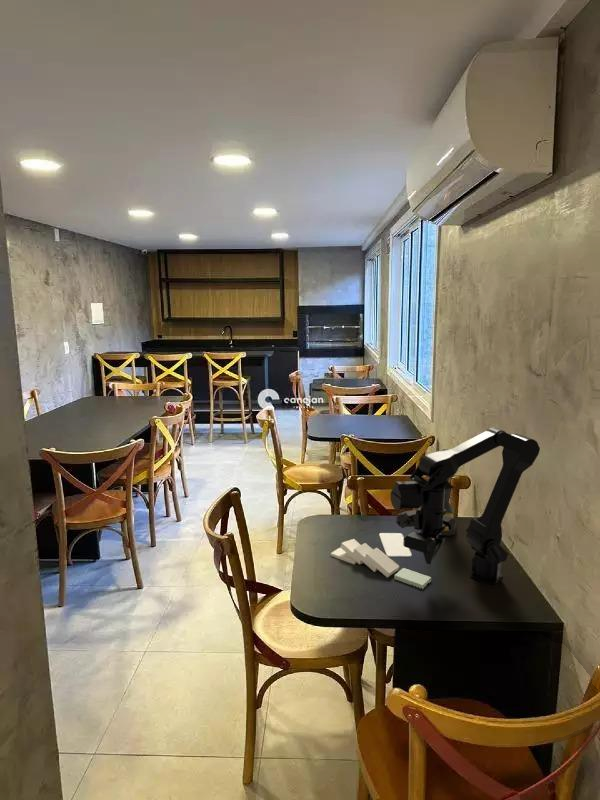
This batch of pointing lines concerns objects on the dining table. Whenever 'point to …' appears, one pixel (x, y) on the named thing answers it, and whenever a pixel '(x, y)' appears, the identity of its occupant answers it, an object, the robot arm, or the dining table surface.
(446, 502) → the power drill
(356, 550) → the tile
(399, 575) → the tile
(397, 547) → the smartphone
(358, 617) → the dining table surface
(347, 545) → the tile
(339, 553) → the tile
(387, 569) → the tile
